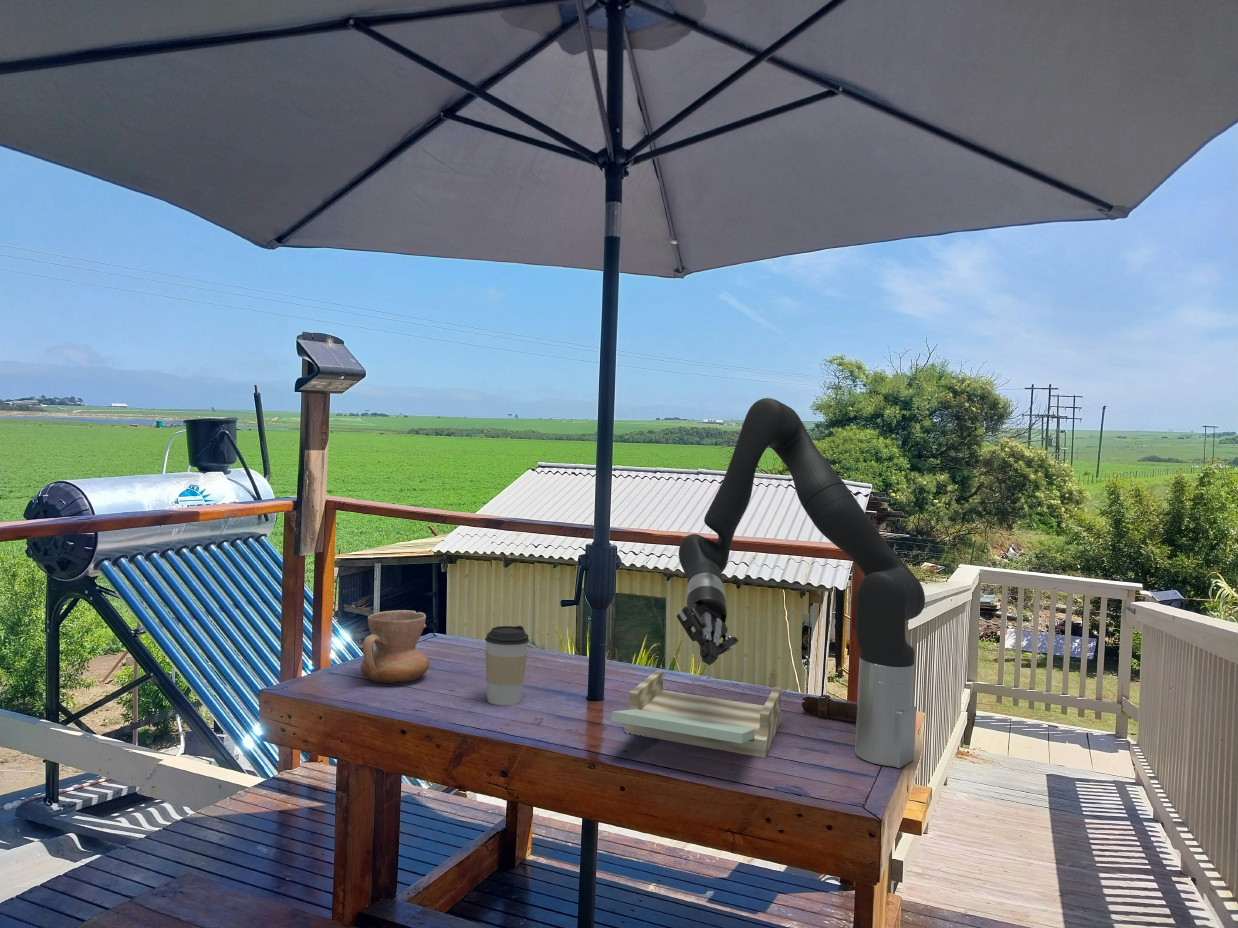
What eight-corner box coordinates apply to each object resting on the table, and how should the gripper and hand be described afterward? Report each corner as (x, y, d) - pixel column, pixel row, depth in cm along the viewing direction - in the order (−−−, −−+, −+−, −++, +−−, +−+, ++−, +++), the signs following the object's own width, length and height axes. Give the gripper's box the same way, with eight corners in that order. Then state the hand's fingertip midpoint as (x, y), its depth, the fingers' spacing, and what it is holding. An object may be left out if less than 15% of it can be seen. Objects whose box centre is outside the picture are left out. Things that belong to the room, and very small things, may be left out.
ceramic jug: (398, 665, 176) (400, 605, 176) (446, 675, 169) (448, 612, 169) (337, 683, 160) (339, 617, 160) (386, 695, 153) (388, 626, 153)
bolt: (804, 720, 157) (877, 733, 150) (798, 713, 154) (873, 726, 146) (808, 693, 160) (881, 704, 152) (802, 685, 156) (876, 697, 149)
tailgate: (636, 709, 138) (612, 711, 125) (755, 728, 131) (742, 733, 118) (634, 720, 137) (610, 724, 125) (754, 741, 130) (741, 747, 117)
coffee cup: (494, 709, 147) (498, 633, 147) (474, 696, 155) (478, 624, 155) (533, 703, 153) (537, 630, 153) (512, 691, 160) (516, 621, 160)
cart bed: (655, 702, 157) (656, 669, 157) (779, 723, 148) (781, 688, 148) (624, 732, 138) (626, 694, 138) (764, 757, 130) (766, 717, 130)
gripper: (690, 570, 141) (691, 627, 126) (745, 605, 144) (753, 665, 128) (666, 596, 144) (665, 655, 129) (721, 629, 147) (726, 691, 131)
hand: (709, 660), depth 129 cm, fingers closed
